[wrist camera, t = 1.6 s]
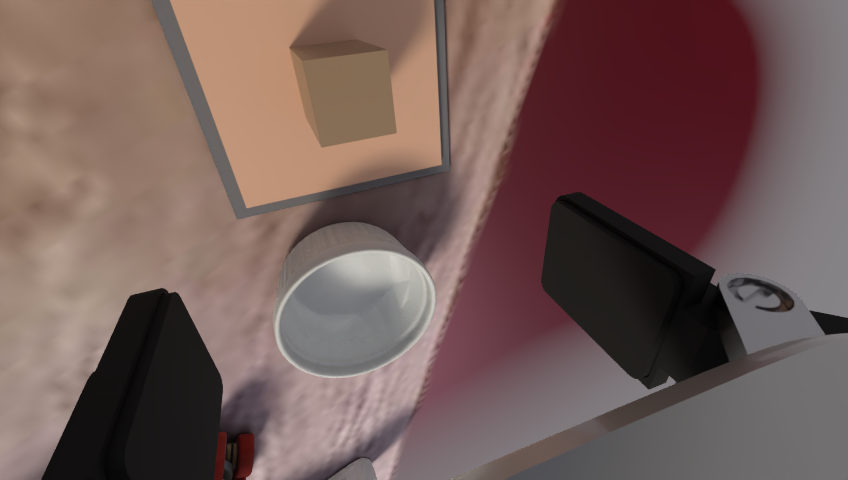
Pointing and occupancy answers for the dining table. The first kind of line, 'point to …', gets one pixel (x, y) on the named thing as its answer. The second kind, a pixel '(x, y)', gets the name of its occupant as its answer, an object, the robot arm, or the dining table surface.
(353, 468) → the photo printer
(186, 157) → the dining table surface
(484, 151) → the dining table surface
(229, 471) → the toy fire truck
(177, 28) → the mat
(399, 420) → the dining table surface
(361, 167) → the cover
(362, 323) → the ramekin
